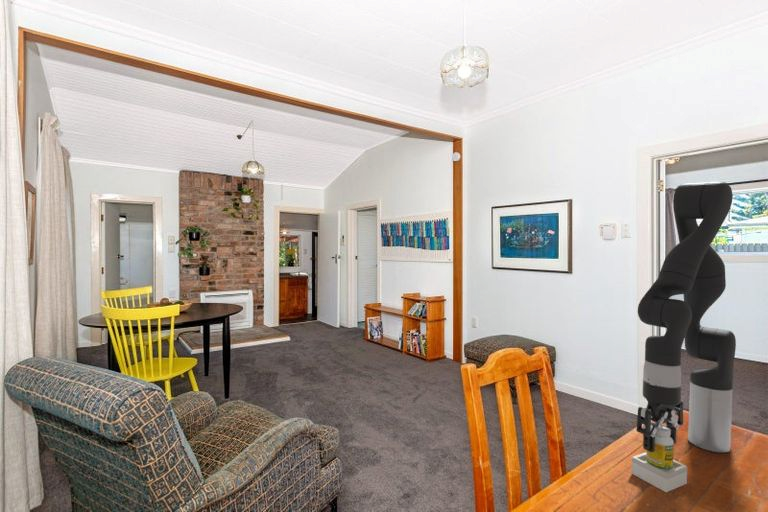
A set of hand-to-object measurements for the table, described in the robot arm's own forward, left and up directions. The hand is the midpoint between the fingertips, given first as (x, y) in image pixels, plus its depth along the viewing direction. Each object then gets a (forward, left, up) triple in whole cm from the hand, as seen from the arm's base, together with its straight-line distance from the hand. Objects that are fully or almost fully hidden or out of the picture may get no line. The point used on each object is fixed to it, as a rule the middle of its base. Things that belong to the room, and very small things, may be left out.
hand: (659, 446), depth 95 cm
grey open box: (0, 0, -8) cm, 8 cm away
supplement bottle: (0, 0, -5) cm, 5 cm away
